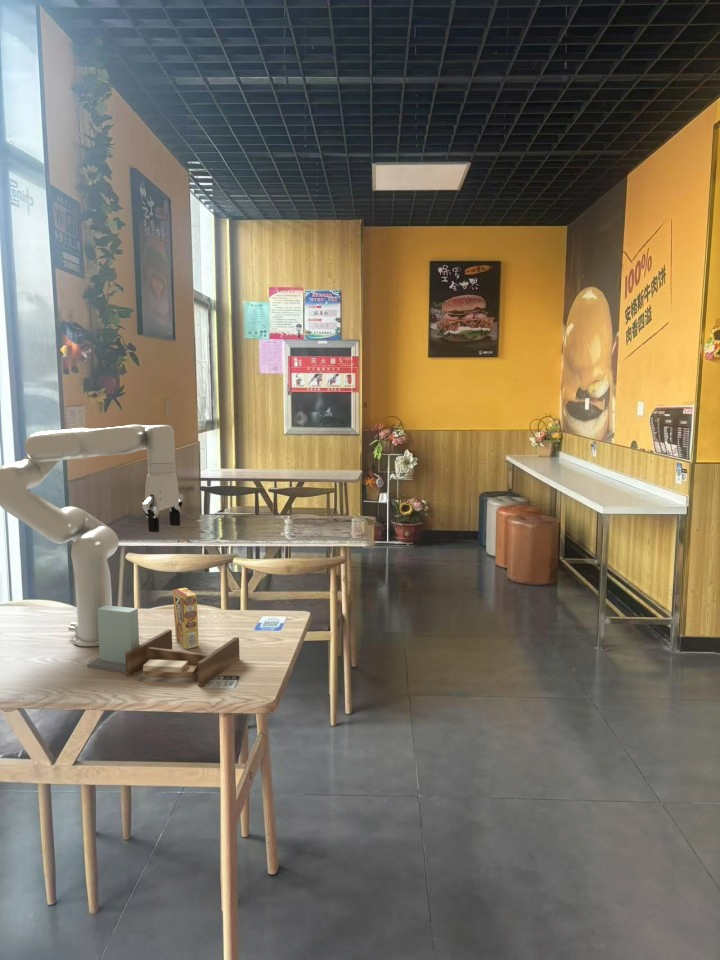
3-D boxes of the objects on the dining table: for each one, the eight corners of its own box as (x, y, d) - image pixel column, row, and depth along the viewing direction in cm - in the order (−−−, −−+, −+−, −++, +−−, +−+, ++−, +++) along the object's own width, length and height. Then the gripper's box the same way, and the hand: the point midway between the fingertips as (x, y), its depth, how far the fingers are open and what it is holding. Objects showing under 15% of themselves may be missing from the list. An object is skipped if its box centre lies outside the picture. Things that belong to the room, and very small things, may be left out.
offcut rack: (126, 675, 182) (125, 653, 181) (168, 650, 200) (167, 629, 199) (202, 686, 175) (201, 663, 174) (239, 659, 193) (239, 637, 192)
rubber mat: (87, 666, 188) (87, 663, 188) (111, 653, 198) (111, 650, 198) (129, 672, 184) (129, 669, 184) (152, 658, 194) (152, 656, 194)
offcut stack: (138, 682, 179) (137, 666, 178) (146, 674, 184) (145, 658, 184) (193, 684, 178) (192, 667, 177) (199, 675, 183) (199, 659, 183)
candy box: (199, 647, 203) (197, 594, 201) (185, 650, 200) (183, 596, 198) (188, 638, 210) (186, 587, 208) (174, 640, 208) (172, 589, 206)
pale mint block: (99, 660, 191) (97, 608, 189) (108, 655, 194) (105, 605, 192) (131, 664, 188) (129, 612, 186) (139, 659, 191) (137, 608, 189)
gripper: (169, 465, 212) (172, 522, 214) (130, 471, 196) (134, 533, 198) (191, 466, 209) (193, 523, 212) (153, 472, 194) (156, 535, 196)
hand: (164, 528), depth 205 cm, fingers open, 9 cm apart
